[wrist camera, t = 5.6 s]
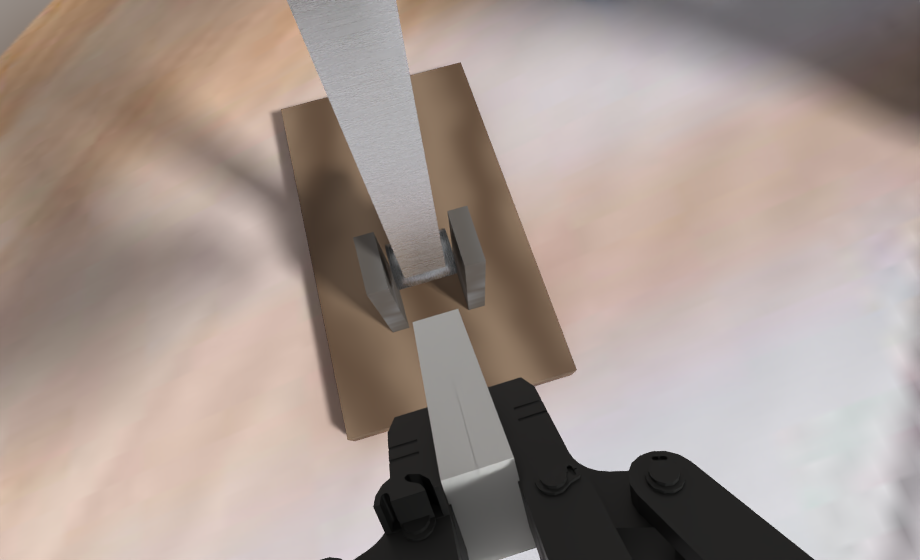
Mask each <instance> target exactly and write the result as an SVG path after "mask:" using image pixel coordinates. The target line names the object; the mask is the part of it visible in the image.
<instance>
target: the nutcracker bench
mask: <svg viewBox="0 0 920 560" xmlns="http://www.w3.org/2000/svg"><path fill="white" fill-rule="evenodd" d="M410 79H411V84H412V90H413V95H414V100H415V106H416V111H417V116H418V122H419V127H420V133H421V138H422V143H423V149H424V154H425V159H426V165H427V170H428V175H429V181H430V186H431V191H432V197H433V202H434V207H435V213H436V218H437V224H438V229H442V228H445V230H446V233H447V236H448V239H449V242H450V245H451V248H452V252H453V255H454V259H455V263H456V268H457V274H453V275H450V276H446V277H443V278H439V279H436V280H432V281H429V282H426V283H422V284H419V285H415V286H412V287H408V288H405V289H401V290H398V289H397V286H396V284H395V281H394V278H393V275H392V271H391V268H390V265H389V261H388V257H387V253H386V249H385V244H389V243H390V242H389V240H388V237H387V235H386V233H385V230H384V228H383V226H382V223H381V221H380V219H379V216H378V214H377V211H376V209H375V207H374V204H373V202H372V200H371V197H370V195H369V193H368V190H367V188H366V185H365V183H364V181H363V178H362V176H361V174H360V171H359V169H358V167H357V164H356V162H355V160H354V157H353V155H352V152H351V150H350V148H349V145H348V143H347V141H346V138H345V136H344V134H343V131H342V129H341V127H340V124H339V122H338V119H337V117H336V115H335V112H334V110H333V108H332V105H331V103H330V101H329V98H328V97H327V98H323V99H319V100H315V101H312V102H308V103H304V104H300V105H296V106H293V107H289V108H285V109H281V112H282V117H283V122H284V127H285V132H286V137H287V142H288V146H289V151H290V156H291V161H292V166H293V171H294V176H295V181H296V186H297V191H298V196H299V201H300V206H301V211H302V216H303V221H304V226H305V231H306V236H307V241H308V246H309V251H310V256H311V260H312V265H313V270H314V275H315V280H316V285H317V290H318V295H319V300H320V305H321V310H322V315H323V320H324V325H325V330H326V335H327V340H328V345H329V350H330V355H331V360H332V365H333V370H334V374H335V379H336V384H337V389H338V394H339V399H340V404H341V409H342V414H343V419H344V424H345V429H346V434H347V439H348V440H351V441H357V440H360V439H364V438H367V437H370V436H373V435H377V434H380V433H383V432H386V431H389V429H390V426H391V424H392V422H393V420H394V417H397V416H400V415H403V414H407V413H410V412H413V411H416V410H420V409H423V408H426V407H427V401H426V395H425V390H424V384H423V378H422V373H421V367H420V361H419V356H418V350H417V344H416V339H415V333H414V327H413V322H415V321H418V320H422V319H425V318H428V317H432V316H435V315H439V314H442V313H445V312H449V311H452V310H456V309H458V310H459V313H460V315H461V318H462V321H463V323H464V326H465V329H466V331H467V334H468V337H469V339H470V342H471V345H472V347H473V350H474V353H475V355H476V358H477V361H478V363H479V366H480V369H481V371H482V374H483V377H484V379H485V382H486V385H487V387H490V386H494V385H497V384H500V383H503V382H507V381H510V380H513V379H516V378H520V377H522V378H523V379H524V380H526V381H527V382H529V383H530V384H532V385H533V386H537V385H540V384H543V383H546V382H550V381H553V380H556V379H559V378H563V377H566V376H569V375H572V374H573V373H574V372H575V371H576V370H577V369H576V367H575V364H574V361H573V359H572V356H571V354H570V351H569V348H568V346H567V343H566V340H565V338H564V335H563V332H562V330H561V327H560V324H559V322H558V319H557V316H556V314H555V311H554V308H553V306H552V303H551V301H550V298H549V295H548V293H547V290H546V287H545V285H544V282H543V279H542V277H541V274H540V271H539V269H538V266H537V263H536V261H535V258H534V256H533V253H532V250H531V248H530V245H529V242H528V240H527V237H526V234H525V232H524V229H523V226H522V224H521V221H520V218H519V216H518V213H517V210H516V208H515V205H514V203H513V200H512V197H511V195H510V192H509V189H508V187H507V184H506V181H505V179H504V176H503V173H502V171H501V168H500V165H499V163H498V160H497V157H496V155H495V152H494V150H493V147H492V144H491V142H490V139H489V136H488V134H487V131H486V128H485V126H484V123H483V120H482V118H481V115H480V112H479V110H478V107H477V105H476V102H475V99H474V97H473V94H472V91H471V89H470V86H469V83H468V81H467V78H466V75H465V73H464V70H463V67H462V65H461V62H460V63H456V64H453V65H449V66H445V67H441V68H437V69H434V70H430V71H426V72H422V73H418V74H415V75H411V76H410Z"/></svg>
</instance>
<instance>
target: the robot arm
mask: <svg viewBox="0 0 920 560" xmlns="http://www.w3.org/2000/svg"><path fill="white" fill-rule="evenodd" d="M413 327H414V333H415V339H416V344H417V350H418V356H419V361H420V367H421V373H422V378H423V384H424V390H425V395H426V401H427V407H426V408H423V409H420V410H416V411H413V412H410V413H407V414H403V415H400V416H397V417H394V420H393V422H392V424H391V426H390V429H389V431H388V448H389V462H390V464H389V467H390V479H389V480H388V481H386V482H385V483H384V484H383V485H382V486H381V488H380V490H379V491H378V493H377V494H376V496H375V501H374V506H373V507H374V509H375V512H376V514H377V516H378V518H379V521H380V523H381V525H382V527H383V529H384V532H385V533H384V535H383V536H382V537H381V539H380V540H379V541H378V542H377V543H376V544H375V545H374V546H373V547H371V548H370V549H369V550H368V551H366V552H365V553H363V554H362V555H360V556H359V557H357V558H356V559H354V560H500V559H503V558H506V557H509V556H512V555H515V554H518V553H521V552H524V551H527V550H530V549H533V548H536V547H537V550H538V553H539V556H540V560H814V559H813V558H812V557H810V556H809V555H808V554H807V553H805V552H804V551H803V550H802V549H800V548H799V547H798V546H797V545H795V544H794V543H793V542H792V541H790V540H789V539H788V538H786V537H785V536H784V535H783V534H781V533H780V532H779V531H778V530H776V529H775V528H774V527H773V526H771V525H770V524H769V523H768V522H766V521H765V520H764V519H763V518H761V517H760V516H759V515H758V514H756V513H755V512H754V511H753V510H751V509H750V508H749V507H748V506H746V505H745V504H744V503H743V502H741V501H740V500H739V499H738V498H736V497H735V496H734V495H732V494H731V493H730V492H729V491H727V490H726V489H725V488H724V487H722V486H721V485H720V484H719V483H717V482H716V481H715V480H714V479H712V478H711V477H710V476H709V475H707V474H706V473H705V472H704V471H702V470H701V469H700V468H699V467H697V466H696V465H695V464H694V463H692V462H691V461H689V460H688V459H686V458H684V457H682V456H681V455H679V454H675V453H671V452H667V451H652V452H649V453H646V454H643V455H641V456H639V457H638V458H637V459H636V460H635V461H634V462H632V464H631V466H630V469H629V471H612V472H608V471H597V470H593V469H589V468H587V467H585V466H583V465H581V464H579V463H578V462H577V461H576V460H574V459H573V457H572V456H571V455H570V453H569V452H568V450H567V448H566V446H565V444H564V442H563V440H562V438H561V436H560V435H559V433H558V431H557V429H556V427H555V425H554V423H553V421H552V419H551V417H550V415H549V413H548V412H547V410H546V408H545V406H544V404H543V402H542V401H541V398H540V396H539V394H538V392H537V391H536V389H535V387H534V386H533V385H532V384H530V383H529V382H527V381H526V380H524V379H523V378H522V377H520V378H516V379H513V380H510V381H507V382H503V383H500V384H497V385H494V386H490V387H487V385H486V382H485V379H484V377H483V374H482V371H481V369H480V366H479V363H478V361H477V358H476V355H475V353H474V350H473V347H472V345H471V342H470V339H469V337H468V334H467V331H466V329H465V326H464V323H463V321H462V318H461V315H460V313H459V310H458V309H456V310H452V311H449V312H445V313H442V314H439V315H435V316H432V317H428V318H425V319H422V320H418V321H415V322H413ZM322 560H342V559H340V558H331V557H329V558H325V559H322Z"/></svg>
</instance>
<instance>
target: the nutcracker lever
mask: <svg viewBox="0 0 920 560" xmlns="http://www.w3.org/2000/svg"><path fill="white" fill-rule="evenodd" d="M287 2H288V4H289V6H290V9H291V11H292V13H293V16H294V18H295V20H296V23H297V25H298V28H299V30H300V32H301V35H302V37H303V39H304V42H305V44H306V46H307V49H308V51H309V53H310V56H311V58H312V61H313V63H314V65H315V68H316V70H317V72H318V75H319V77H320V79H321V82H322V84H323V86H324V89H325V91H326V94H327V96H328V98H329V101H330V103H331V105H332V108H333V110H334V112H335V115H336V117H337V119H338V122H339V124H340V127H341V129H342V131H343V134H344V136H345V138H346V141H347V143H348V145H349V148H350V150H351V152H352V155H353V157H354V160H355V162H356V164H357V167H358V169H359V171H360V174H361V176H362V178H363V181H364V183H365V185H366V188H367V190H368V193H369V195H370V197H371V200H372V202H373V204H374V207H375V209H376V211H377V214H378V216H379V219H380V221H381V223H382V226H383V228H384V230H385V233H386V235H387V237H388V240H389V242H390V243H389V244H385V249H386V253H387V257H388V261H389V265H390V268H391V271H392V275H393V278H394V281H395V284H396V286H397V289H398V290H401V289H405V288H408V287H412V286H415V285H419V284H422V283H426V282H429V281H432V280H436V279H439V278H443V277H446V276H450V275H453V274H457V268H456V263H455V259H454V255H453V252H452V248H451V245H450V242H449V239H448V236H447V233H446V230H445V228H442V229H438V224H437V218H436V213H435V207H434V202H433V197H432V191H431V186H430V181H429V175H428V170H427V165H426V159H425V154H424V149H423V143H422V138H421V133H420V127H419V122H418V116H417V111H416V106H415V100H414V95H413V90H412V84H411V79H410V74H409V68H408V63H407V58H406V52H405V47H404V42H403V36H402V31H401V25H400V20H399V15H398V9H397V4H396V0H287Z"/></svg>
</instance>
